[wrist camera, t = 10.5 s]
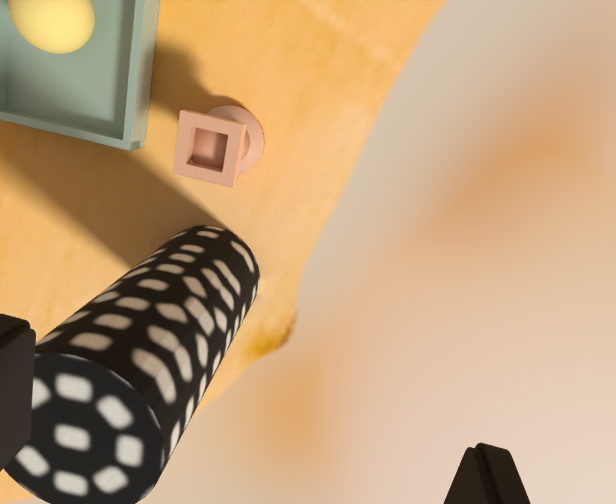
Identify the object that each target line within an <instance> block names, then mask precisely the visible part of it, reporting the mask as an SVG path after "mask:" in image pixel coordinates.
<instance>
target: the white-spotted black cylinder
mask: <svg viewBox="0 0 616 504" xmlns="http://www.w3.org/2000/svg"><path fill="white" fill-rule="evenodd" d="M259 283H260V274H259V267H258V264H257V262H256V259H255V257H254V255H253V253H252V252H251V250H250V248H249V247H248V246H247V245H246V244H245V243H244V242H243V241H242V240H241V239H240V238H239V237H237V236H236V235H235V234H233V233H231V232H229V231H227V230H225V229H222V228H218V227H214V226H206V225H205V226H195V227H192V228H188V229H186V230H184V231H182V232H180V233H178V234H177V235H176V236H174V237H173V238H172V239H170V240H169V241H168V242H166V243H165V244H164V245H163V246H161V247H160V248H159V249H157V250H156V251H155V252H153V253H152V254H151V255H150V256H148V257H147V258H146V259H144V260H143V261H142V262H140V263H139V264H138V265H137V266H135V267H134V268H133V269H131V270H130V271H129V272H127V273H126V274H125V275H124V276H122V277H121V278H120V279H118V280H117V281H116V282H114V283H113V284H112V285H111V286H109V287H108V288H107V289H105V290H104V291H103V292H101V293H100V294H99V295H98V296H96V297H95V298H94V299H92V300H91V301H90V302H88V303H87V304H86V305H85V306H83V307H82V308H81V309H79V310H78V311H77V312H75V313H74V314H73V315H72V316H70V317H69V318H68V319H66V320H65V321H64V322H62V323H61V324H60V325H59V326H57V327H56V328H55V329H53V330H52V331H51V332H49V333H48V334H47V335H46V336H44V337H43V338H42V339H40V340H39V341H38V342H36V343H35V360H34V378H33V395H32V412H31V430H30V435H29V438H28V440H27V442H26V444H25V446H24V447H23V448H22V449H21V451H20V452H19V453H18V454H17V455H16V456H15V457H14V458H13V459H12V460H11V461H10V462H9V463H8V464H7V465H6V466H5V467H4V470H5V471H6V472H7V473H8V475H9V476H10V477H12V478H13V479H14V480H15V481H16V482H17V483H18V484H19V485H20V486H22V487H23V488H24V489H26V490H27V491H29V492H30V493H32V494H33V495H35V496H36V497H38V498H40V499H42V500H44V501H46V502H48V503H50V504H135V503H137V502H138V501H140V500H141V499H142V498H144V497H145V496H146V495H147V494H148V493H149V492H150V491H151V490H152V489H153V488H154V487H155V485H156V483H157V481H158V479H159V477H160V475H161V474H162V472H163V470H164V468H165V466H166V464H167V462H168V460H169V459H170V457H171V455H172V453H173V451H174V449H175V447H176V446H177V444H178V442H179V440H180V438H181V436H182V434H183V432H184V430H185V429H186V427H187V425H188V423H189V421H190V419H191V417H192V415H193V414H194V412H195V410H196V408H197V406H198V404H199V402H200V400H201V399H202V397H203V395H204V393H205V391H206V389H207V387H208V385H209V384H210V382H211V380H212V378H213V376H214V374H215V372H216V370H217V369H218V367H219V365H220V363H221V361H222V359H223V357H224V355H225V354H226V352H227V350H228V348H229V346H230V344H231V342H232V340H233V339H234V337H235V335H236V333H237V331H238V329H239V327H240V325H241V324H242V322H243V320H244V318H245V316H246V314H247V312H248V310H249V309H250V307H251V305H252V303H253V301H254V299H255V297H256V295H257V292H258V289H259Z"/></svg>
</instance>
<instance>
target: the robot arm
mask: <svg viewBox="0 0 616 504" xmlns="http://www.w3.org/2000/svg"><path fill="white" fill-rule="evenodd" d="M35 343H36V333H35V331H34V330H33V329H30V324H29V322H28V321H26V320H23V319H20V318H16V317H12V316H9V315H5V314H0V471H1V470H2V469H3V468H4V467H5V466H6V465H7V464H8V463H9V462H10V461H11V460H12V459H13V458H14V457H15V456H16V455H17V454H18V453H19V452H20V451H21V449H22V448H23V447H24V446H25V444H26V442H27V440H28V438H29V435H30V430H31V412H32V395H33V378H34V360H35ZM444 504H530V501H529V499H528V496H527V494H526V491H525V488H524V486H523V483H522V481H521V478H520V476H519V474H518V471H517V468H516V466H515V463H514V461H513V458H512V456H511V454H510V452H509V451H508V450H506V449H503V448H499V447H495V446H492V445H488V444H484V443H478V444H477V445H476V447H475V448H471V447H468V448H467V450H466V451H465V453H464V456H463V458H462V460H461V463H460V466H459V468H458V470H457V472H456V475H455V477H454V480H453V482H452V484H451V487H450V489H449V492H448V494H447V497H446V499H445V501H444Z"/></svg>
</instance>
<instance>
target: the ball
mask: <svg viewBox="0 0 616 504" xmlns="http://www.w3.org/2000/svg"><path fill="white" fill-rule="evenodd" d="M8 8H9V13H10V17H11V19H12V22H13V24H14V26H15V27H16V29H17V30H18V32H19V33H20V34H21V35H22V36H23V37H24V38H25V39H26V40H27V41H28V42H29V43H31V44H32V45H33V46H35V47H37V48H39V49H41V50H43V51H46V52H50V53H56V54H65V53H70V52H73V51H76V50H78V49H79V48H81V47H82V46H84V45H85V44H86V43H87V41H88V40H89V39H90V37H91V35H92V33H93V30H94V26H95V13H94V8H93V5H92V2H91V0H8Z"/></svg>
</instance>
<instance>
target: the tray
mask: <svg viewBox="0 0 616 504" xmlns="http://www.w3.org/2000/svg"><path fill="white" fill-rule="evenodd" d="M91 2H92V5H93V8H94V13H95V26H94V30H93V33H92V35H91V37H90V39H89V40H88V41H87V43H86V44H85V45H84V46H82V47H81V48H79V49H78V50H76V51H73V52H70V53H65V54H56V53H50V52H46V51H43V50H41V49H39V48H37V47H35V46H33V45H32V44H31V43H29V42H28V41H27V40H26V39H25V38H24V37H23V36H22V35H21V34H20V33H19V32H18V30H17V29H16V27H15V26H14V24H13V22H12V19H11V17H10V13H9V8H8V0H0V120H3V121H7V122H12V123H16V124H20V125H24V126H28V127H33V128H37V129H41V130H45V131H49V132H54V133H58V134H62V135H66V136H70V137H75V138H79V139H83V140H87V141H91V142H96V143H100V144H104V145H108V146H112V147H116V148H121V149H125V150H129V151H131V150H135V149H139V148H143V147H144V146H145V137H146V127H147V118H148V108H149V98H150V89H151V79H152V70H153V60H154V51H155V41H156V31H157V22H158V12H159V3H160V0H91Z"/></svg>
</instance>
